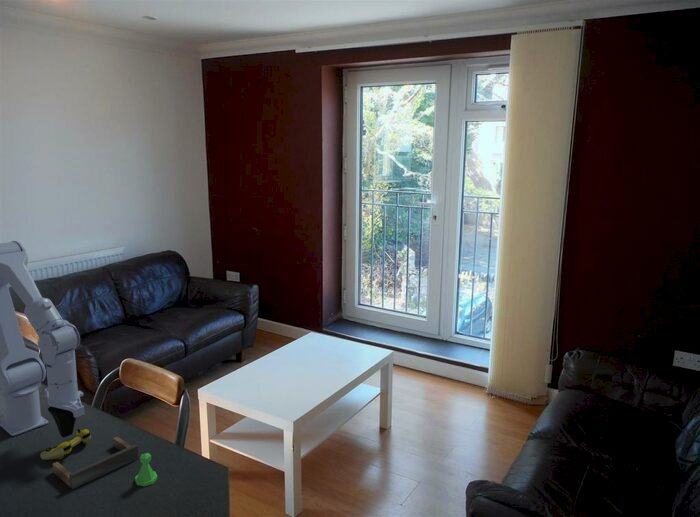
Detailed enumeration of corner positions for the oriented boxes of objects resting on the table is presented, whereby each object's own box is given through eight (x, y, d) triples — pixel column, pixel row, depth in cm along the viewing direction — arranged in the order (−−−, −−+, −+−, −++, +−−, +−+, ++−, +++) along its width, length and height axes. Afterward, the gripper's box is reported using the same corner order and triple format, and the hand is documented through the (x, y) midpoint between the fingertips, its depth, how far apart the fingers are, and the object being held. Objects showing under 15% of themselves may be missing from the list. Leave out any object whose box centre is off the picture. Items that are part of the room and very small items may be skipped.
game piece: (137, 474, 109) (136, 448, 108) (159, 472, 110) (158, 446, 109) (132, 487, 105) (131, 460, 104) (155, 485, 106) (154, 458, 105)
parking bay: (53, 472, 109) (51, 459, 108) (117, 444, 120) (116, 432, 119) (72, 489, 104) (71, 475, 103) (138, 458, 115) (137, 446, 114)
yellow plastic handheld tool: (64, 461, 111) (58, 446, 111) (43, 465, 113) (38, 451, 113) (100, 438, 120) (94, 424, 120) (80, 442, 122) (75, 428, 122)
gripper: (96, 383, 115) (100, 439, 118) (65, 365, 124) (69, 417, 127) (63, 394, 110) (68, 452, 112) (33, 374, 118) (38, 429, 121)
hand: (66, 435), depth 119 cm, fingers closed
